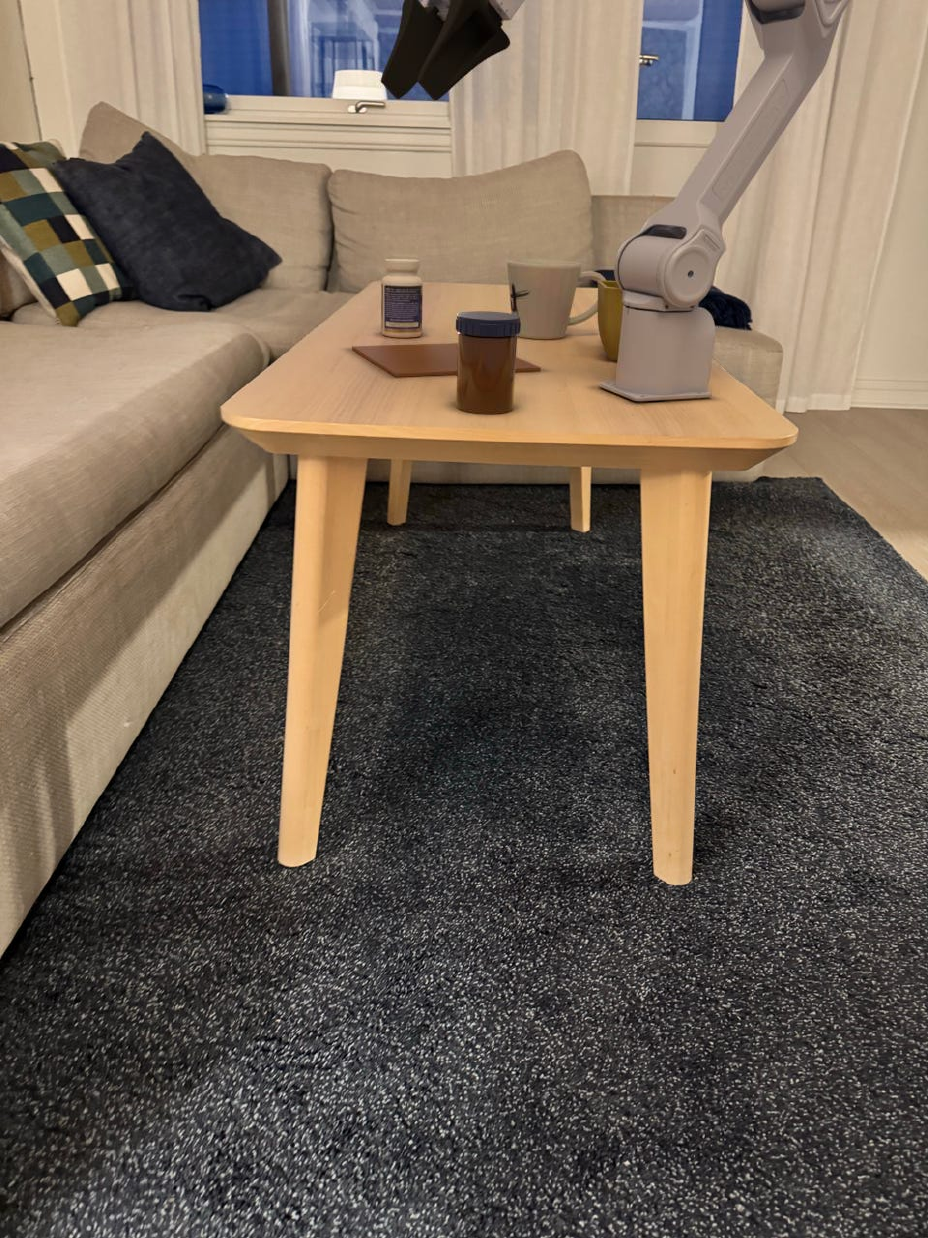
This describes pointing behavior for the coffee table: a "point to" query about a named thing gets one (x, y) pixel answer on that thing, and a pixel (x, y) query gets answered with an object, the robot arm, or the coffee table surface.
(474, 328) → the lid
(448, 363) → the mat
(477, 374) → the jar
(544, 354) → the coffee table surface
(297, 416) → the coffee table surface
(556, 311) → the mug
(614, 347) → the flower pot
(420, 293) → the pill bottle
